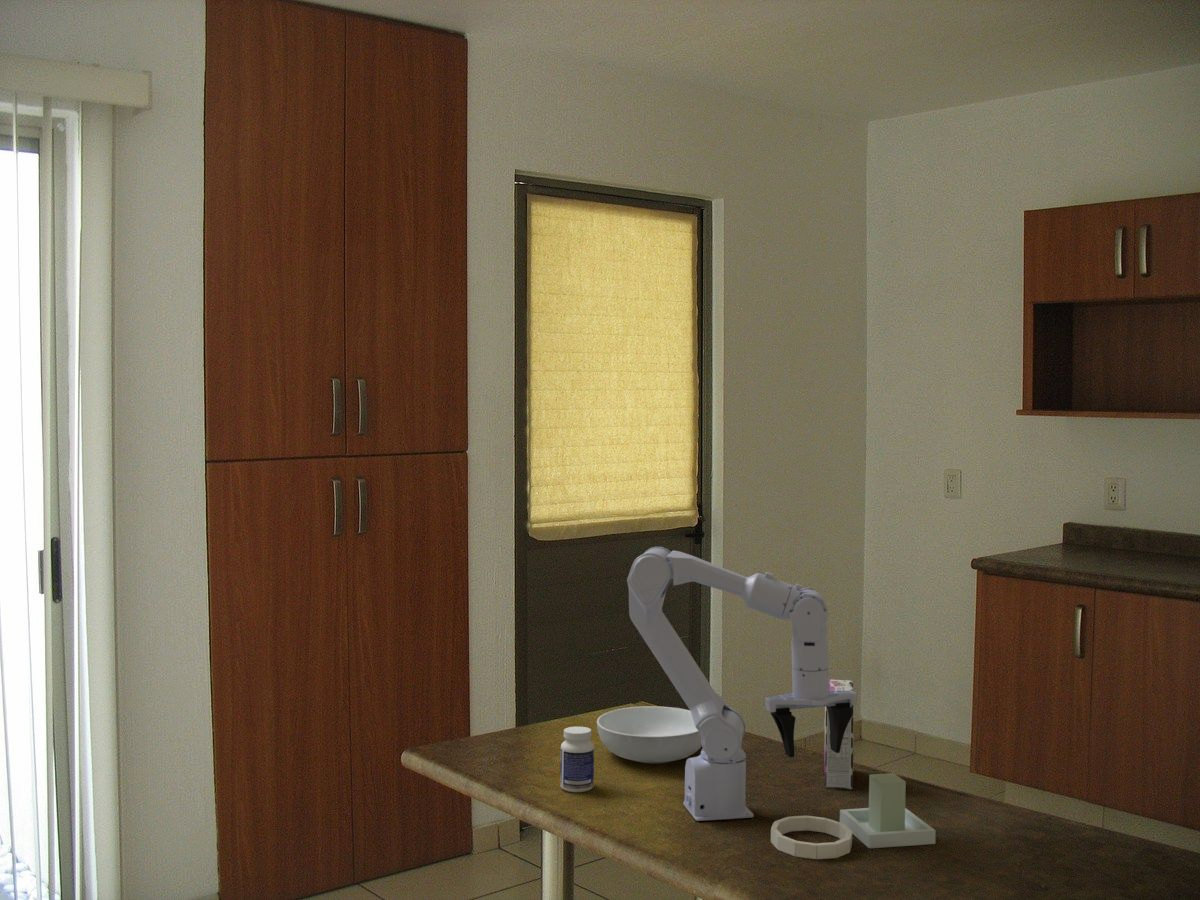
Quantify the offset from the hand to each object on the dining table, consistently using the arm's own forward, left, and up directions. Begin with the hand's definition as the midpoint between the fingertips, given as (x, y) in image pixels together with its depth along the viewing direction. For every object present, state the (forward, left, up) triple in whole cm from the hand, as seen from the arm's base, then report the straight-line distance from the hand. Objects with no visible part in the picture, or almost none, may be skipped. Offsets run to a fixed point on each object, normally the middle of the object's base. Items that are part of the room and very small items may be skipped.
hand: (812, 753), depth 176 cm
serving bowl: (-17, +35, -11) cm, 41 cm away
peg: (+9, -8, -10) cm, 15 cm away
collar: (-4, -10, -10) cm, 15 cm away
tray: (+9, -8, -10) cm, 16 cm away
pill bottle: (-34, +20, -11) cm, 41 cm away
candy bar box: (+12, +17, -11) cm, 24 cm away
